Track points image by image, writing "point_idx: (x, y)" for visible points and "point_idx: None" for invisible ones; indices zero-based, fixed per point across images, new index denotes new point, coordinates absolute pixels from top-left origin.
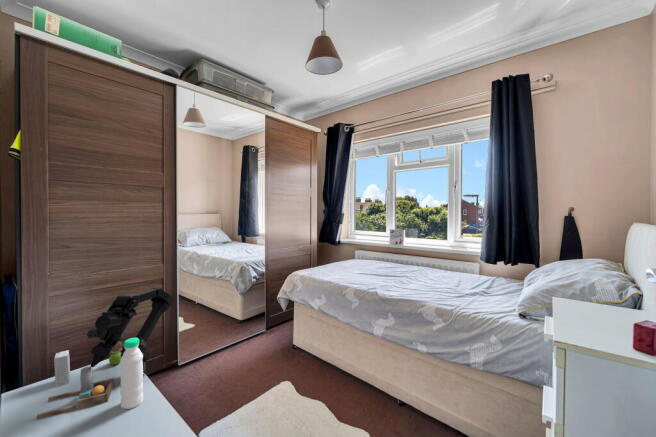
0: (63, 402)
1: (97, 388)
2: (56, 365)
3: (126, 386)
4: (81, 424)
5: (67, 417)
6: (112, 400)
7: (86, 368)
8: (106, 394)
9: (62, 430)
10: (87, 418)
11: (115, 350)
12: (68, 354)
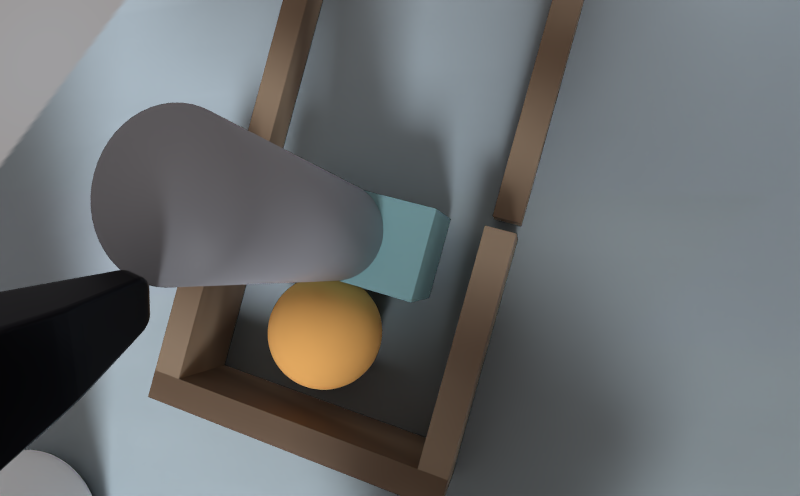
0: (451, 66)
1: (275, 329)
2: None
3: None
4: (45, 196)
5: None
6: (186, 414)
7: (184, 203)
8: (153, 386)
9: (64, 92)
10: (83, 232)
11: None
12: None
